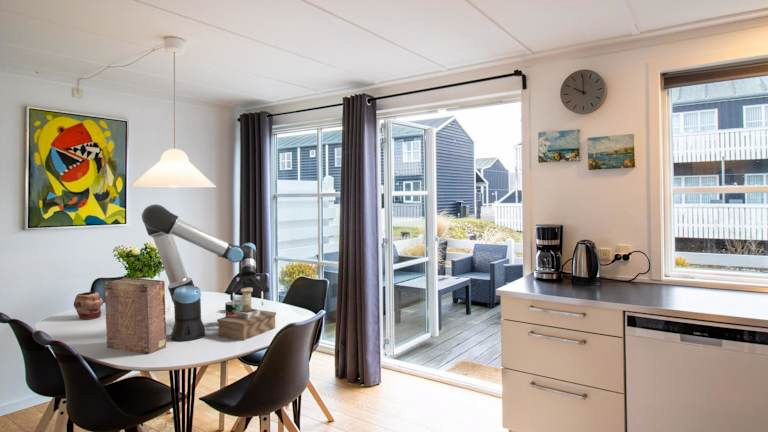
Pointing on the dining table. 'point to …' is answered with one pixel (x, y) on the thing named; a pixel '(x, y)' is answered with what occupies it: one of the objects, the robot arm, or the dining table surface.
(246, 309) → the beech peg
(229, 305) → the canned tomato
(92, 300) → the decorative planter
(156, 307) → the brown upright block
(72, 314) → the dining table surface
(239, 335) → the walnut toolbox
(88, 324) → the dining table surface
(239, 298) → the teacup
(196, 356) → the dining table surface
